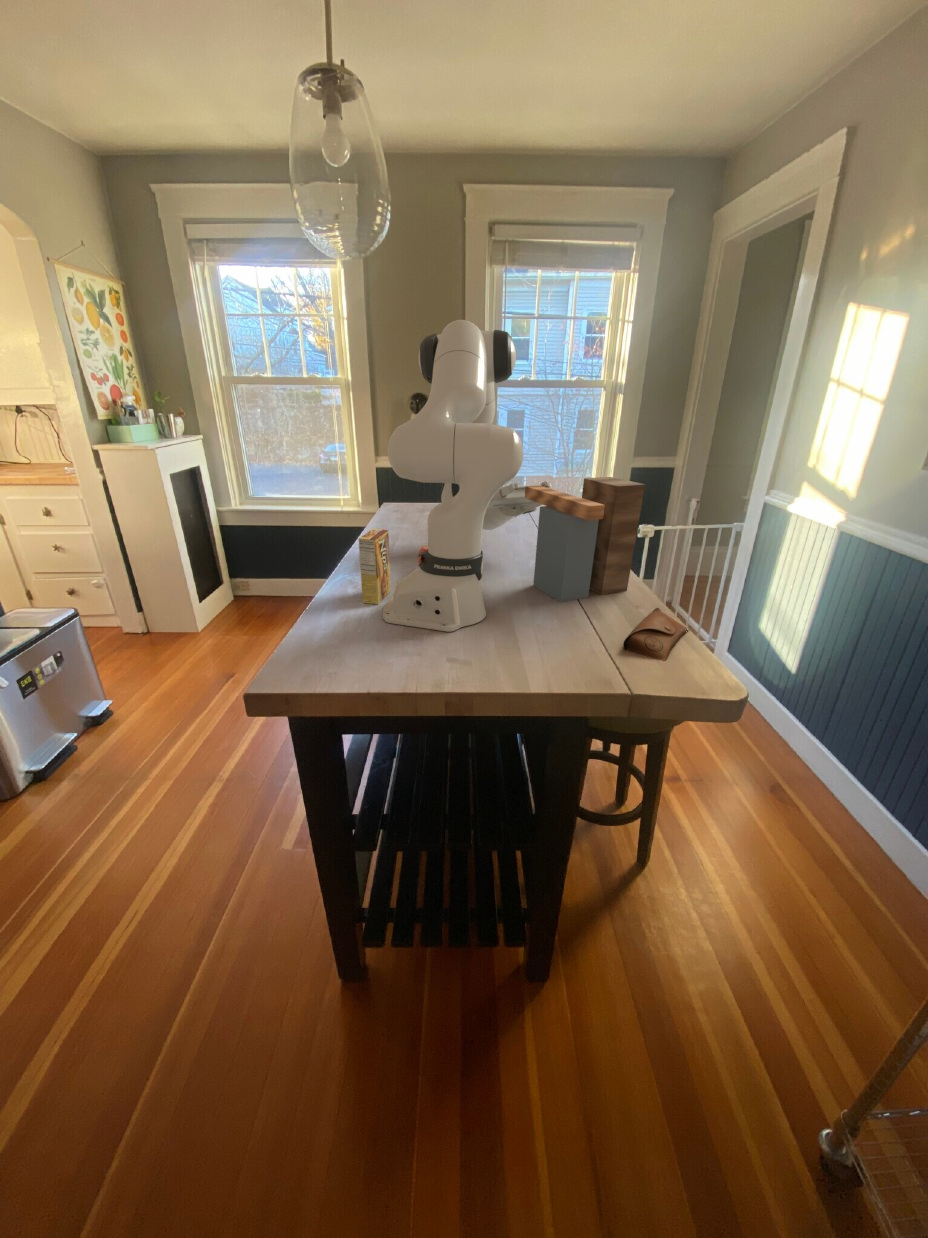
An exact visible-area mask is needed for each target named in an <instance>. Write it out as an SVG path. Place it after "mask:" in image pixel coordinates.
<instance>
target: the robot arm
mask: <svg viewBox="0 0 928 1238" xmlns="http://www.w3.org/2000/svg"><path fill="white" fill-rule="evenodd" d="M417 360H418V365H419V370H420V372H421V375H422V377H423V379H424V380H425V381H426V382H427V383H428V384H430V385H431V386H430V390H429V396H428V399H427V401H426V402H425V404H424V405H423V406H422V408H421V409H420V411H418V412H417V414H416V415H414V416H413V417H412V418H411V419H409V420H408V421H406V422H404V423H402V424H401V425H398V426H397V427H396V428H395V429H394V430H393V432H392V434H391V435H390V438H389V440H388V443H387V444H388V445H387V457H388V461H389V464H390V466H391V468H392V470H393V472H395V474H396V475H397V476H398V477H399V478H401V479H406V480H410V481H414V482H419V483H426V484H427V483H429V484H430V483H433V484H434V483H435V484H437V483H438V484H442V486H441V490H440V502H439V503H438V504H437V505H435V506H434V507H433V508H432V509H431V510H430V511H429V513H428V515H427V546H425V545H424V546H421V548H420V550H419V552H418V553H419V554H418V557H417V558H418V559H417V561H418V567H416V569H414V570H412V572H410V573H409V574H407V575H406V576H403V578H402V579H400V581H399V582H398V583H397V585H396V586H395V589H394V593H393V597H392V598H390V600H389V601H388V602H386V604H385V605H384V608H383V610H382V619H383V620H384V622H385V623H388V624H395V625H400V626H401V625H402V626H408V627H414V628H420V629H428V630H436V631H440V632H448V633H450V632H454V631H457V630H459V629H461V628H463V627H467V626H470V625H471V626H472V625H474V624H477V623H479V622H481V621H483V620H484V619H485V618H486V616H487V610H486V607H485V602H484V597H483V589H482V588H483V587H482V578H483V575H484V574H483V573H484V553H483V551H482V540H483V538H482V536H483V530H485V531H491V530H495V529H497V528H500V527H501V526H503V525H504V524H506V523H507V522H509V521H511V520H512V519H513V518H517V517H520V516H522V515H525V514H530V513H534V512H536V511H537V510H538V507H539V508H540V507H542V506H544V505H543V504H540V503H537V502H534V501H531V500H528V499H525V486H538V485H539V486H542V487H546V488H549V489H553V486H552V484H551V483H550V482H549V481H548V480H547V481H545V480H544V481H542V482H541V483H540V484H539V483H538V484H524V485H518V483H517V482H513V483H510V484H509V485H506V484H508V483H509V482H510V481H512V480H513V479H514V478H515V477H516V476H517V474H519V471H520V470H521V467H522V464H523V462H524V461H523V460H524V446H523V443H522V440H521V438H520V436H519V434H518V433H517V431H515V429H514V428H510V427H507V426H504V425H503V426H502V425H498V424H494V423H493V422H494V419H495V414H496V396H495V395H496V392H495V384H498V383H503V382H504V381H505V382H506V381H507V380H509V378H510V377H511V376H512V375H513V371H514V368H515V365H516V362H517V352H516V347H515V343H514V341H513V338H512V336H511V335H510V333H509V332H508V331H505V330H500V329H494V330H493V331H491V330H480V328H479V327H478V326H477V325H476V324H475V323H473V322H471V321H469V320H466V319H457V320H453V321H452V322H449V323H448V324H446V326H444V327H443V329H442V331H441V333H438V332H435V333H432V334H429V335H427V336H425V337H424V339H423V340H422V341H421V342H420V345H419V351H418V359H417Z"/></svg>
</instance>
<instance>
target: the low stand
mask: <svg viewBox="0 0 928 1238" xmlns="http://www.w3.org/2000/svg"><path fill="white" fill-rule="evenodd" d="M538 513H539V515H538V516H539V517H538V524H537V540H536V548H535V550H536V551H535V563H534V572H533V574H534V575H533V586H534V587H535V588H537V589H539V590H540V591H542V592H544V593H545V594H547V595H548V596H550V597H551V598H553V599H555V600H556V601H558V602H559V603H563V602H570V601H571V602H572V601H575V600H581V599H587V598H589V596H590V595H589V594H590V589H589V588H590V581H591V573H592V566H593V559H594V551H595V544H596V537H597V529H598V522H599V519H598V520H585V519H582V518H580V517H577V516H574V515H571V514H568V513H565V512H562V511H560V510H557V509H554V508H551V507H548V506H545V505H541V506H539V511H538Z"/></svg>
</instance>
